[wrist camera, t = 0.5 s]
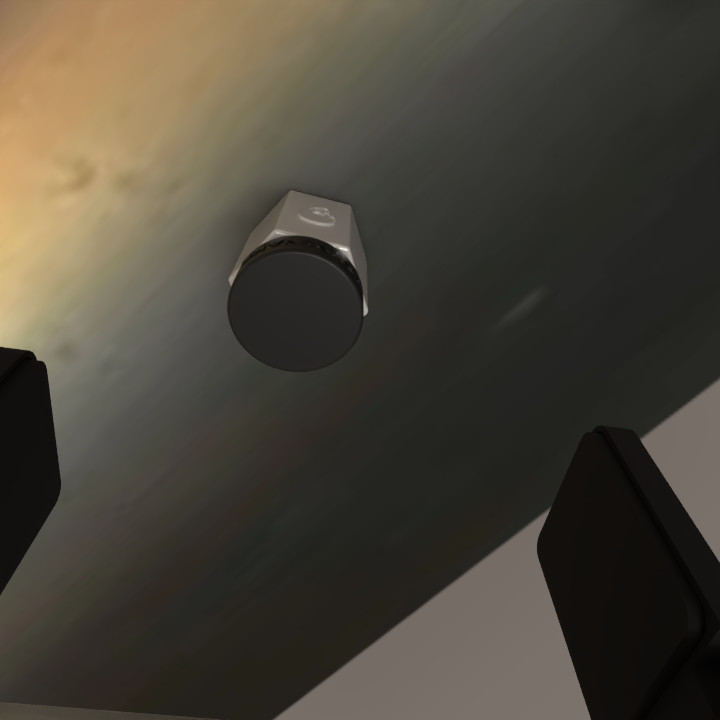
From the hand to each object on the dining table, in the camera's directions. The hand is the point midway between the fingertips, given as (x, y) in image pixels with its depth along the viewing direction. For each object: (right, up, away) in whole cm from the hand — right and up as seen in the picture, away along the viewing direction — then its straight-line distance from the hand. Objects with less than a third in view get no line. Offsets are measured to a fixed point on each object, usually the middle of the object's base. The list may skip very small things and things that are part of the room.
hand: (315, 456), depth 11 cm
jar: (-3, +10, +35) cm, 37 cm away
